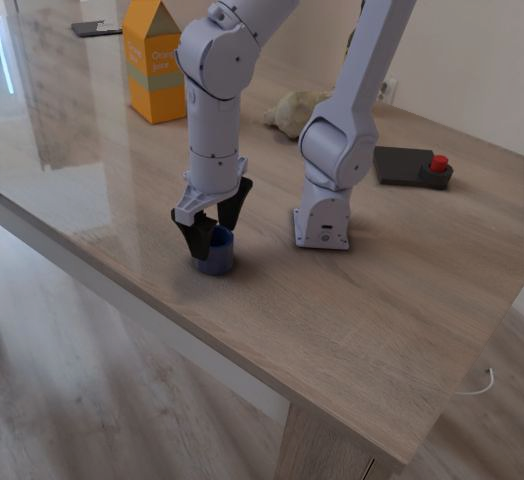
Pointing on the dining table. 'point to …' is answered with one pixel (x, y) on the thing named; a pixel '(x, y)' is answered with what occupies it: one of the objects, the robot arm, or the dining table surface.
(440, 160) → the button
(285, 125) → the ginger root
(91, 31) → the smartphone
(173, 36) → the orange juice
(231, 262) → the blue plastic cup
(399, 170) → the scale
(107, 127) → the dining table surface
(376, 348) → the dining table surface
